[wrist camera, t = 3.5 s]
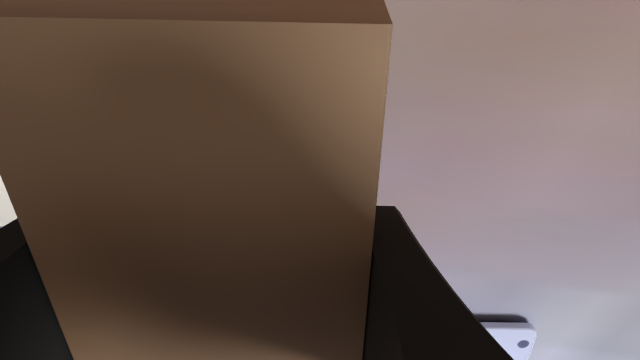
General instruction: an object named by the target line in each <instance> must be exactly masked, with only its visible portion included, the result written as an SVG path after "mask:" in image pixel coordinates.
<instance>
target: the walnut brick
mask: <svg viewBox="0 0 640 360" xmlns="http://www.w3.org/2000/svg"><path fill="white" fill-rule="evenodd" d="M392 27H393V24H392V21H391V18H390V16H389V13H388V10H387V7H386V5H385V2H384V0H0V176H1V178H2V181H3V183H4V186H5V188H6V191H7V193H8V196H9V198H10V201H11V203H12V206H13V208H14V211H15V213H16V216H17V218H18V221H19V223H20V226H21V228H22V231H23V233H24V236H25V238H26V241H27V243H28V246H29V248H30V251H31V253H32V256H33V258H34V261H35V263H36V266H37V268H38V271H39V273H40V276H41V279H42V281H43V284H44V286H45V289H46V291H47V294H48V296H49V299H50V301H51V304H52V306H53V309H54V311H55V314H56V316H57V319H58V321H59V324H60V326H61V329H62V331H63V334H64V336H65V339H66V341H67V344H68V346H69V349H70V351H71V354H72V356H73V359H74V360H362V356H363V345H364V334H365V323H366V312H367V301H368V290H369V279H370V268H371V257H372V246H373V235H374V224H375V213H376V202H377V191H378V180H379V169H380V158H381V147H382V136H383V125H384V114H385V103H386V92H387V81H388V70H389V59H390V49H391V38H392Z"/></svg>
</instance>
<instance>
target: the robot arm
mask: <svg viewBox="0 0 640 360" xmlns="http://www.w3.org/2000/svg"><path fill="white" fill-rule="evenodd" d="M536 336H537V333H536V330H535V328H534V326H533V325H532V324H530V323H508V322H479V320H478V319H477V318H476V317H475V316H474V315H473V313H472V312H471V311H470V310H469V309H468V308H467V306H466V305H465V304H464V303H463V301H462V300H461V299H460V298H459V296H458V295H457V294H456V293H455V292H454V290H453V289H452V288H451V286H450V285H449V284H448V282H447V281H446V280H445V278H444V277H443V276H442V274H441V273H440V272H439V270H438V269H437V268H436V266H435V265H434V264H433V262H432V261H431V259H430V258H429V257H428V255H427V254H426V252H425V251H424V249H423V248H422V246H421V245H420V244H419V242H418V241H417V239H416V238H415V236H414V234H413V233H412V231H411V230H410V228H409V227H408V225H407V223H406V222H405V220H404V218H403V217H402V215H401V213H400V212H399V211H398V210H397V208H396V207H395V206H376V213H375V224H374V235H373V246H372V257H371V268H370V279H369V290H368V301H367V312H366V323H365V334H364V345H363V356H362V360H529V357H530V354H531V351H532V348H533V345H534V342H535V339H536ZM0 360H74V359H73V356H72V354H71V351H70V349H69V346H68V344H67V341H66V339H65V336H64V334H63V331H62V329H61V326H60V324H59V321H58V319H57V316H56V314H55V311H54V309H53V306H52V304H51V301H50V299H49V296H48V294H47V291H46V289H45V286H44V284H43V281H42V279H41V276H40V273H39V271H38V268H37V266H36V263H35V261H34V258H33V256H32V253H31V251H30V248H29V246H28V243H27V241H26V238H25V236H24V233H23V231H22V228H21V226H20V223H19V221H18V218H17V219H15V220H13V221H12V222H10V223H8V224H7V225H5V226H3V227H2V228H0Z"/></svg>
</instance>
